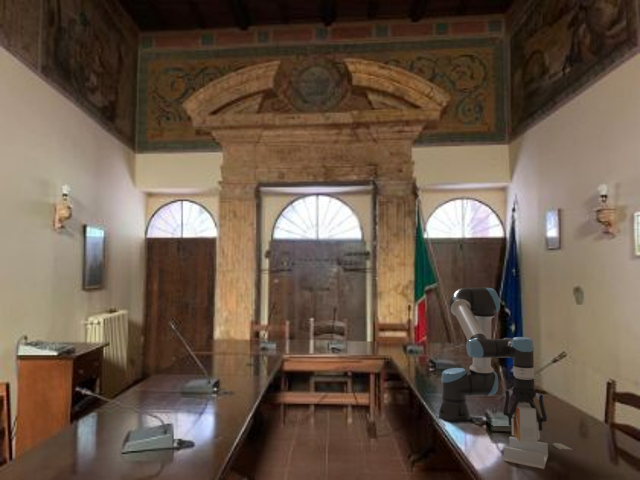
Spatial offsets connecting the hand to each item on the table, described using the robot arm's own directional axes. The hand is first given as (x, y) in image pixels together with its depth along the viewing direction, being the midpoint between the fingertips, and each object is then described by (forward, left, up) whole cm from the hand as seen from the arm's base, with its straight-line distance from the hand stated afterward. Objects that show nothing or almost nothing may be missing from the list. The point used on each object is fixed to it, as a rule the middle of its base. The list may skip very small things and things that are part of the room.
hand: (525, 436), depth 178 cm
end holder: (0, 0, -8) cm, 8 cm away
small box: (0, 0, -1) cm, 1 cm away
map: (+16, +16, -9) cm, 24 cm away
